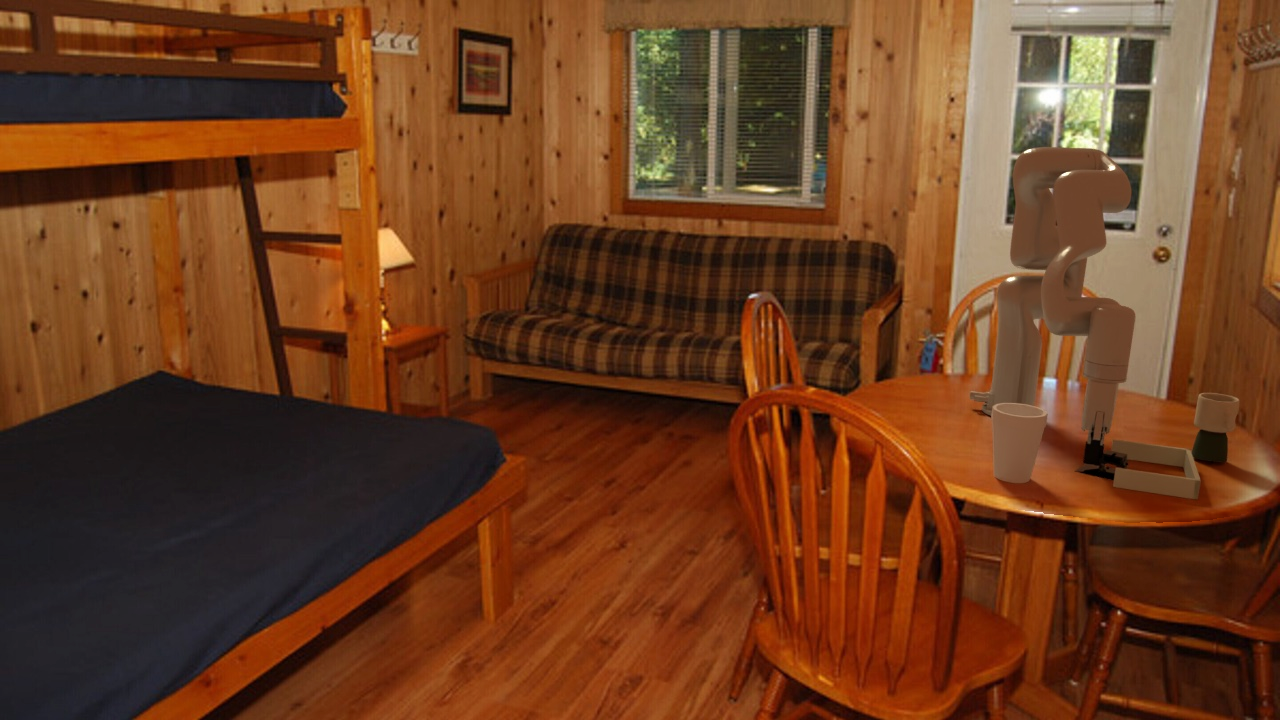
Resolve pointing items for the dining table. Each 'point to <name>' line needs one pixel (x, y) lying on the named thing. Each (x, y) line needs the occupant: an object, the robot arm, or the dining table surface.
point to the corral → (1155, 481)
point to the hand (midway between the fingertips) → (1092, 463)
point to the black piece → (1101, 470)
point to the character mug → (1214, 425)
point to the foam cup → (1016, 440)
